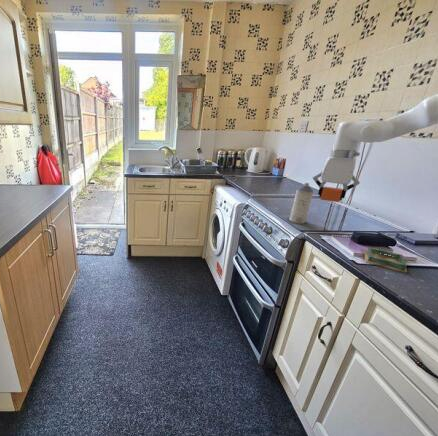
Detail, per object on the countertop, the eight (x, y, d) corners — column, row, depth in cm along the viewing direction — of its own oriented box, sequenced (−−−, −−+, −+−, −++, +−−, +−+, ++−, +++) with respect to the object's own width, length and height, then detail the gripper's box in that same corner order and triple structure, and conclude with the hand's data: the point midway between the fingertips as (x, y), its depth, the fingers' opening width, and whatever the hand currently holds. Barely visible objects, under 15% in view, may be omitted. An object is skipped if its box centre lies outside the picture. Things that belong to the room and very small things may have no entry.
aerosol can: (307, 224, 121) (319, 184, 114) (295, 225, 120) (306, 185, 112) (297, 219, 127) (307, 181, 120) (285, 220, 126) (295, 181, 119)
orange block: (339, 199, 104) (342, 188, 103) (338, 202, 100) (342, 191, 98) (321, 196, 108) (324, 186, 107) (320, 199, 103) (323, 189, 102)
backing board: (401, 261, 89) (404, 254, 88) (406, 274, 81) (409, 267, 80) (363, 252, 95) (366, 245, 94) (364, 263, 87) (367, 256, 86)
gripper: (370, 155, 95) (356, 199, 102) (317, 152, 105) (307, 193, 112) (371, 157, 90) (356, 203, 96) (315, 153, 100) (305, 196, 106)
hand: (330, 197), depth 104 cm, fingers closed on orange block, 6 cm apart
